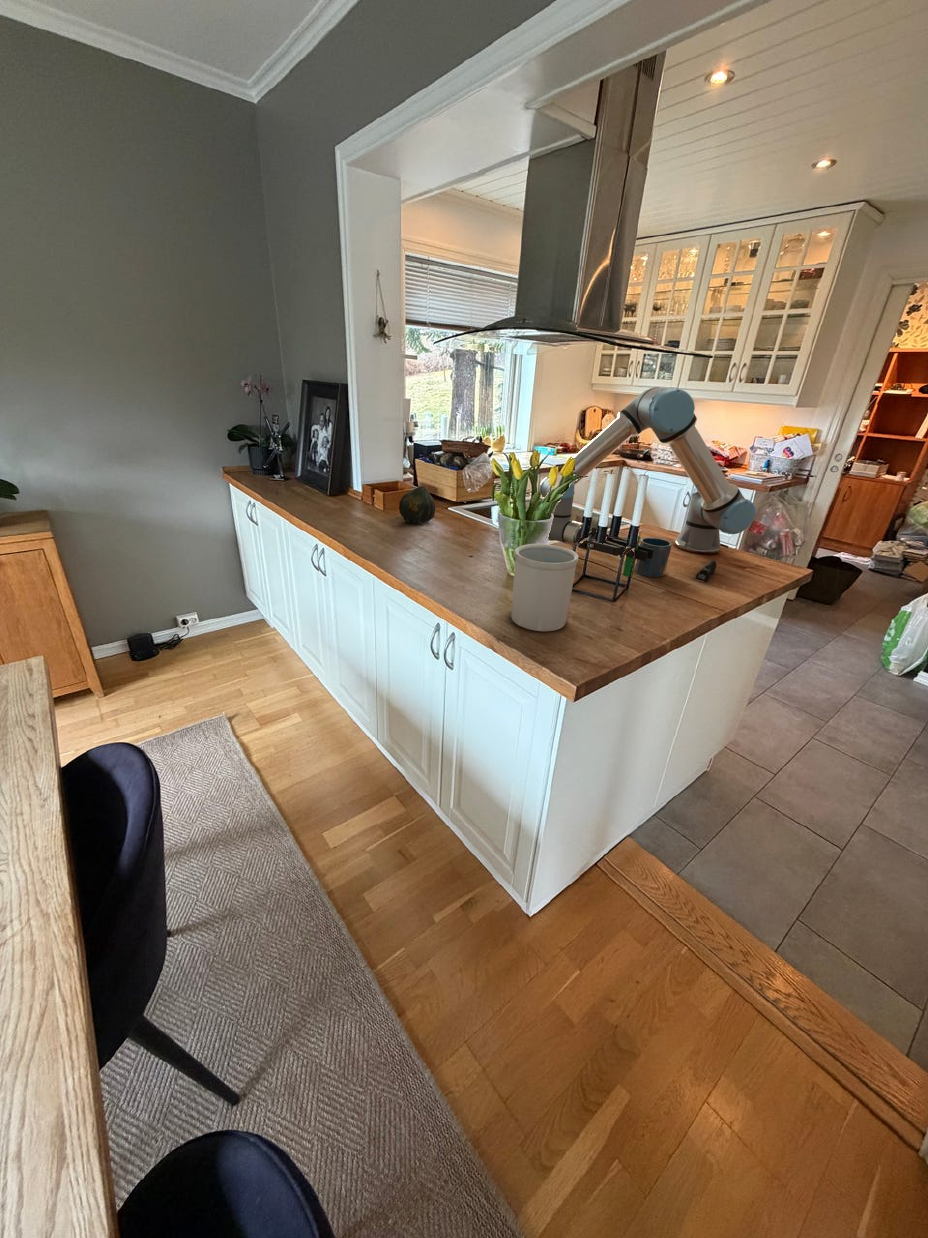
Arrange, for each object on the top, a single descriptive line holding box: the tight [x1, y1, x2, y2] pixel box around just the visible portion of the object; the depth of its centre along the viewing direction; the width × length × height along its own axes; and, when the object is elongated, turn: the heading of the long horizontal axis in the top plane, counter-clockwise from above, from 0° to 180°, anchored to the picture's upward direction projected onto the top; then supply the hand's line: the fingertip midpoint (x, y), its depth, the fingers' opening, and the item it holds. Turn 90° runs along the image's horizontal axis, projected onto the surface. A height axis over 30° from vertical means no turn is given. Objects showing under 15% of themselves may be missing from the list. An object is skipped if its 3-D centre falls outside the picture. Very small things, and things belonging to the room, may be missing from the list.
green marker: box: [622, 528, 643, 578], centre depth 142 cm, size 3×3×14 cm
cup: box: [634, 537, 672, 578], centre depth 153 cm, size 9×9×10 cm
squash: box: [398, 485, 436, 524], centre depth 196 cm, size 14×15×15 cm
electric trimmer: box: [694, 560, 717, 583], centre depth 154 cm, size 4×16×3 cm, turn 143°
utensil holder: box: [510, 543, 579, 632], centre depth 117 cm, size 15×15×18 cm
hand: (649, 555), depth 138 cm, fingers closed on green marker, 3 cm apart
